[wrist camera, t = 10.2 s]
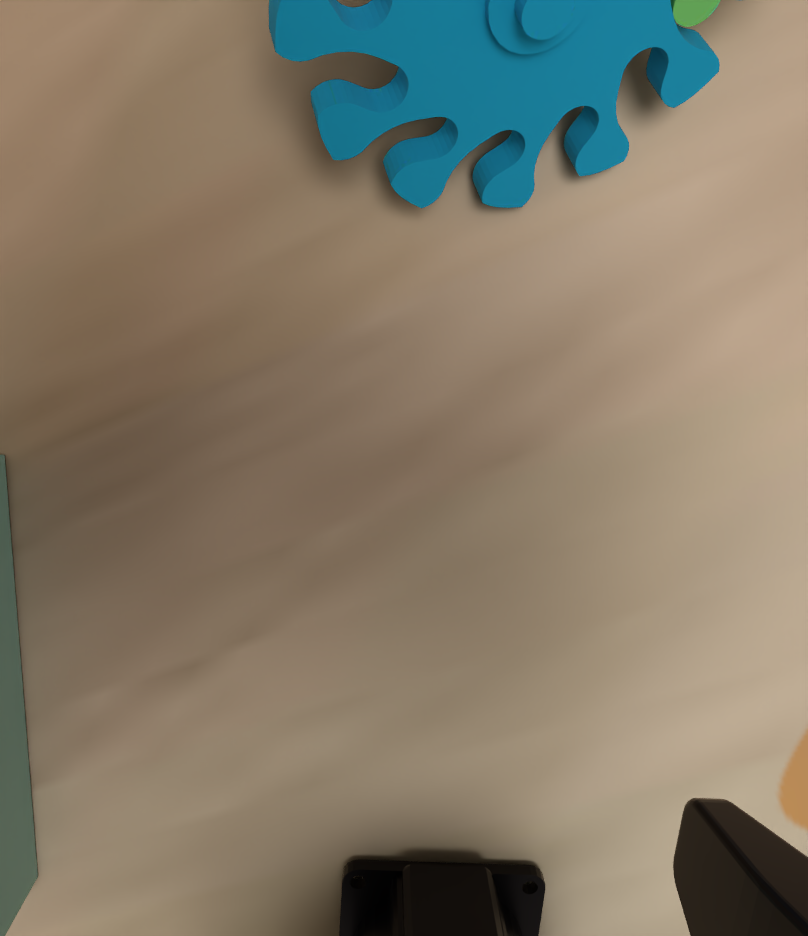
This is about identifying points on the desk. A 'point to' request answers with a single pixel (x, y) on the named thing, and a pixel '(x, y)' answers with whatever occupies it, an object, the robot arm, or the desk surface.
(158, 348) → the desk surface
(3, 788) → the plate
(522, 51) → the gear
